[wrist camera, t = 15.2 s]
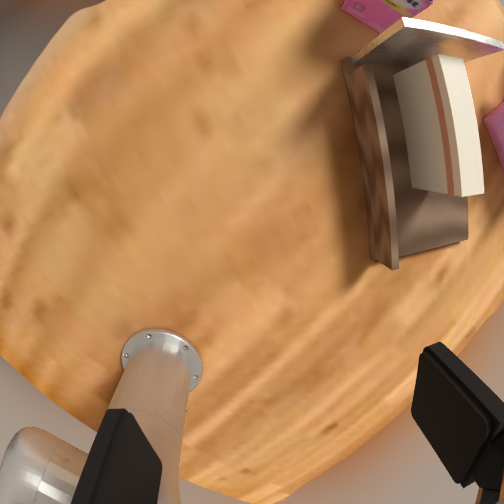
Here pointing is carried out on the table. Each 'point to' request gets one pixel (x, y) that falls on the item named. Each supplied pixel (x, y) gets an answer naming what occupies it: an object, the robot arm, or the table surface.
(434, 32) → the bookend
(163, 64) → the table surface
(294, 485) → the table surface
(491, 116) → the teapot
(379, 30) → the gum box
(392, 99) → the walnut shelf
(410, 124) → the cream book
